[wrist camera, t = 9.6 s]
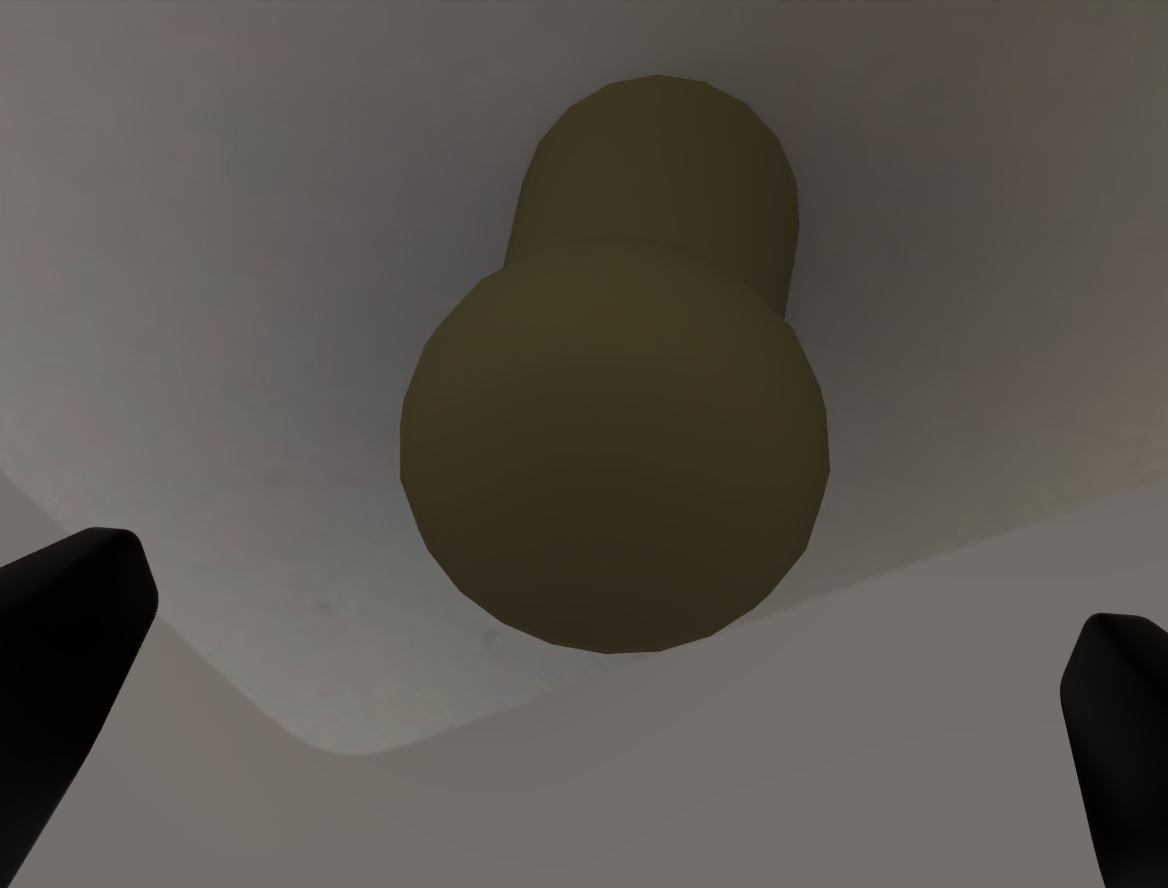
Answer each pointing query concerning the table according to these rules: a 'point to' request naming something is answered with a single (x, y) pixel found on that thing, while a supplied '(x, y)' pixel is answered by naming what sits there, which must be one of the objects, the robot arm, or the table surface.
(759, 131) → the brown rounded piece
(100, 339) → the table surface
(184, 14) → the table surface
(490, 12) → the table surface
